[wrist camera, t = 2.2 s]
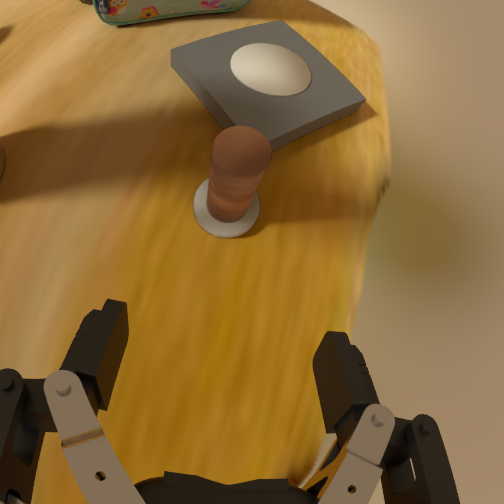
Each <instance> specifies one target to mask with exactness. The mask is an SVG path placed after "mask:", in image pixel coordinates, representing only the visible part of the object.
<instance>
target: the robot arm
mask: <svg viewBox="0 0 504 504" xmlns="http://www.w3.org/2000/svg"><path fill="white" fill-rule="evenodd" d="M4 163H5V156H4V152H3V150H2V148H1V147H0V178H1V176H2V173H3V169H4ZM128 335H129V327H128V314H127V304H126V302H122V301H117V300H112V299H107V300H106V302H105V304H104V306H103V308H102V310H101V311H100V310H95V309H93V310H92V311H91V312H90V313H89V314H87V315H86V316H85V317H84V319H83V321H82V323H81V325H80V327H79V329H78V331H77V333H76V336H75V337H74V339H73V341H72V344H71V346H70V348H69V350H68V352H67V354H66V357H65V359H64V361H63V363H62V366H61V368H60V369H59V370H58V371H55V372H53V373H51V374H50V375H49V376H48V377H47V378H45V379H23V378H22V377H21V375H20V374H19V373H18V372H17V371H16V370H14V369H9V368H6V369H2V370H0V504H31V499H32V493H33V487H34V481H35V476H36V470H37V465H38V461H39V456H40V452H41V447H42V443H43V439H44V435H45V432H58V433H59V436H60V438H61V441H62V444H61V446H62V450H63V452H64V455H65V457H66V459H67V462H68V464H69V466H70V468H71V470H72V473H73V475H74V477H75V479H76V481H77V483H78V485H79V487H80V489H81V491H82V493H83V494H84V496H85V498H86V500H87V502H88V504H368V502H369V500H370V498H371V496H372V494H373V492H374V490H375V487H376V486H377V483H378V481H379V479H380V477H381V483H382V488H383V494H384V500H385V504H460V501H459V497H458V493H457V489H456V485H455V481H454V478H453V474H452V470H451V467H450V463H449V460H448V456H447V453H446V450H445V447H444V443H443V440H442V437H441V434H440V431H439V428H438V425H437V423H436V422H435V420H434V419H433V418H432V417H430V416H428V415H425V414H420V415H417V416H416V417H415V418H414V419H413V420H406V419H402V418H397V417H394V415H393V414H392V412H391V411H390V410H389V409H388V408H387V407H385V406H383V405H381V404H380V403H379V400H378V397H377V394H376V391H375V388H374V385H373V382H372V379H371V377H370V375H369V371H368V368H367V367H366V363H365V360H364V357H363V354H362V353H361V352H360V351H359V349H358V348H357V347H356V346H355V345H351V344H350V341H349V338H348V336H347V334H346V333H345V332H334V331H327V332H326V334H325V335H324V337H323V339H322V341H321V343H320V345H319V347H318V349H317V351H316V353H315V355H314V358H313V371H314V376H315V381H316V385H317V390H318V395H319V400H320V404H321V409H322V414H323V419H324V424H325V429H326V434H329V433H336V435H337V439H336V440H335V441H334V443H333V445H332V447H331V448H330V450H329V451H328V453H327V455H326V457H325V458H324V460H323V461H322V463H321V465H320V466H319V468H318V470H317V471H316V472H315V474H314V475H313V476H312V477H311V478H310V479H309V481H308V482H307V483H306V484H305V485H304V487H303V488H302V489H301V488H298V487H295V486H292V485H289V482H288V479H257V480H252V481H248V482H243V483H238V484H232V485H225V484H222V483H218V482H215V481H211V480H208V479H205V478H202V477H199V476H196V475H188V474H181V473H174V472H167V471H164V477H155V478H150V479H146V480H143V481H141V482H138V483H136V484H135V485H133V483H132V482H131V480H130V478H129V477H128V475H127V473H126V472H125V470H124V468H123V467H122V465H121V463H120V462H119V460H118V458H117V456H116V454H115V453H114V451H113V449H112V447H111V445H110V443H109V441H108V440H107V438H106V436H105V434H104V432H103V430H102V428H101V426H100V424H99V422H98V420H97V418H96V417H97V413H98V410H99V409H101V410H105V411H107V409H108V405H109V401H110V398H111V394H112V391H113V387H114V384H115V380H116V377H117V374H118V370H119V367H120V364H121V361H122V358H123V354H124V351H125V348H126V345H127V341H128ZM410 458H411V459H412V463H413V467H414V472H415V476H416V479H414V475H413V471H412V466H411V462H410Z"/></svg>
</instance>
